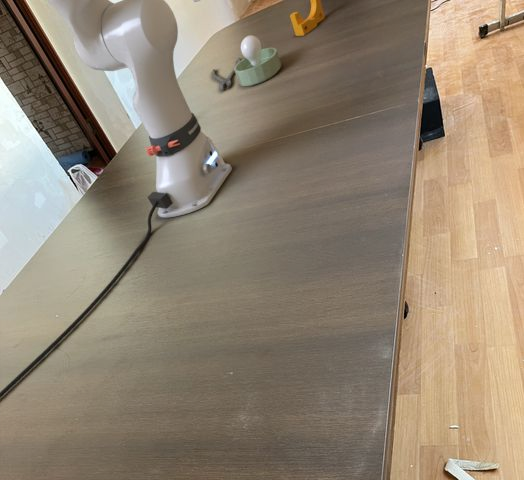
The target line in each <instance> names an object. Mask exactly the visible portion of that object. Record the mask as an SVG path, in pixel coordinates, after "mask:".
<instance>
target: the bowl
mask: <svg viewBox="0 0 524 480" xmlns="http://www.w3.org/2000/svg"><path fill="white" fill-rule="evenodd" d="M240 60H241V61H240V62H239V63H238V62H237V63H238V64H237V63H236V64H235V66H234V68H233V69H234V71H235V73H234V74H235V76H236V78H237V81H238V83H239V85H240V86H242V87H252V86H256V85H259V84H261V83H263V82H266V81H267V80H270V79H271V78H272V77H273V76H275V75H276V74H277V73H278V72H279V70H280V69H281V68H282V62H281V59H280V56H279V53H278V50H277V48H276V47H266V48H261V64H260V65H257V66H255V67H253V65H252V64H251V63H250V61H249V60H248V59H246V58H245V57H244V58H242V59H240Z"/></svg>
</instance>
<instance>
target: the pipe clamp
mask: <svg viewBox="0 0 524 480" xmlns="http://www.w3.org/2000/svg"><path fill="white" fill-rule="evenodd" d="M309 1H310V12H309V14H308V16H307V18H306V19H304V18H303V17H302V15H301V13H300V11H294V12H292V13H291V14H290V15H289V17H290V20H291V21H290V22H291V24H292V27H293V31H294V34H295V37H300V36H306V35H307V34H308V33H310V32H311V31H312V30H314V29H315V28H317V26H318V24H319V23H320V22H322V21H323V20H324V19H326V16H325V13H324V8H323V5H322V2H321V0H309Z"/></svg>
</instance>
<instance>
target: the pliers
mask: <svg viewBox="0 0 524 480" xmlns="http://www.w3.org/2000/svg"><path fill="white" fill-rule="evenodd" d="M241 60H242V59H241V57H238V58H237V63H236V65H237V64H238V63H239V62H240V61H241ZM211 74H212V76H213V79H214V80H215V79H216V80H217V81H219V89H220V90H221V92H223V91H225V88H226V87H227V89H230V88H231V86H232V77H233V75H234V74H236V73H235V71H234V68H233V69H232V71H231V72H230V73H229V74H228V76H227V77H226V78H222V77H220V76H219V75H216V69H215V68H214V69H212V73H211Z"/></svg>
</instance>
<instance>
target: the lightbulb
mask: <svg viewBox="0 0 524 480" xmlns="http://www.w3.org/2000/svg"><path fill="white" fill-rule="evenodd" d="M262 49H263V48H262V43H261V40H260V39H259V37H257V36H255V35H251V34H250V35H246V36H245V37H244V38H243V39H242V41H241V43H240V52H241V54H242V56H243V57H244V58H246V59H248V60H249V61H250V63H251V64H252V65H253V67H255V66H257V65H260V64H261V50H262Z"/></svg>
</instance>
